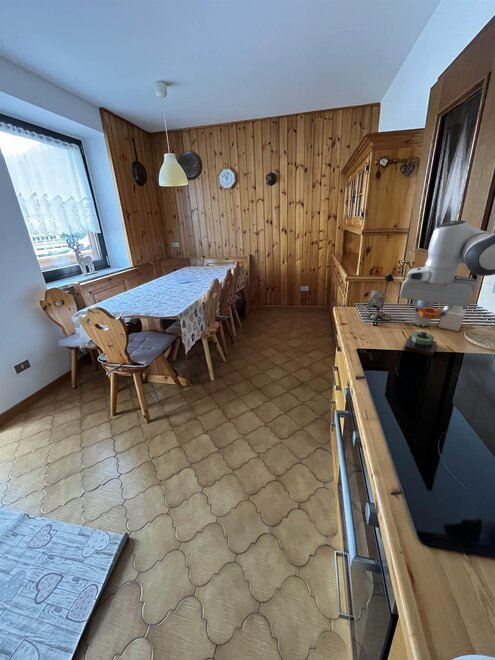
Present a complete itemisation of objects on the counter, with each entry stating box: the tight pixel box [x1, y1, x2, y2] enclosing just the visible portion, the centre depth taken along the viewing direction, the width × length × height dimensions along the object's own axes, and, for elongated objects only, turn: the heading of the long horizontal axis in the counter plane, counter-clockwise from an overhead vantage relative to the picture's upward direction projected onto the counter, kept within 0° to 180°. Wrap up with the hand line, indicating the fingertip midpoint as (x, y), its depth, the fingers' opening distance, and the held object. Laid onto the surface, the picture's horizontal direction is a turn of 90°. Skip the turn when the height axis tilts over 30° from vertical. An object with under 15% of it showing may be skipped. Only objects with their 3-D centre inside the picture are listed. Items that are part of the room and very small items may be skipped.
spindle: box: [403, 331, 438, 357], centre depth 102 cm, size 9×9×6 cm
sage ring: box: [411, 331, 435, 345], centre depth 102 cm, size 7×7×2 cm
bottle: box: [412, 300, 435, 328], centre depth 115 cm, size 7×7×20 cm
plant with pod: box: [363, 272, 395, 321], centre depth 124 cm, size 8×11×20 cm
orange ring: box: [418, 306, 442, 320], centre depth 97 cm, size 7×7×2 cm
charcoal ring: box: [410, 339, 433, 349], centre depth 103 cm, size 7×7×2 cm
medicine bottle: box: [438, 304, 467, 332], centre depth 114 cm, size 7×7×12 cm
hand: (429, 313), depth 97 cm, fingers closed on orange ring, 7 cm apart
